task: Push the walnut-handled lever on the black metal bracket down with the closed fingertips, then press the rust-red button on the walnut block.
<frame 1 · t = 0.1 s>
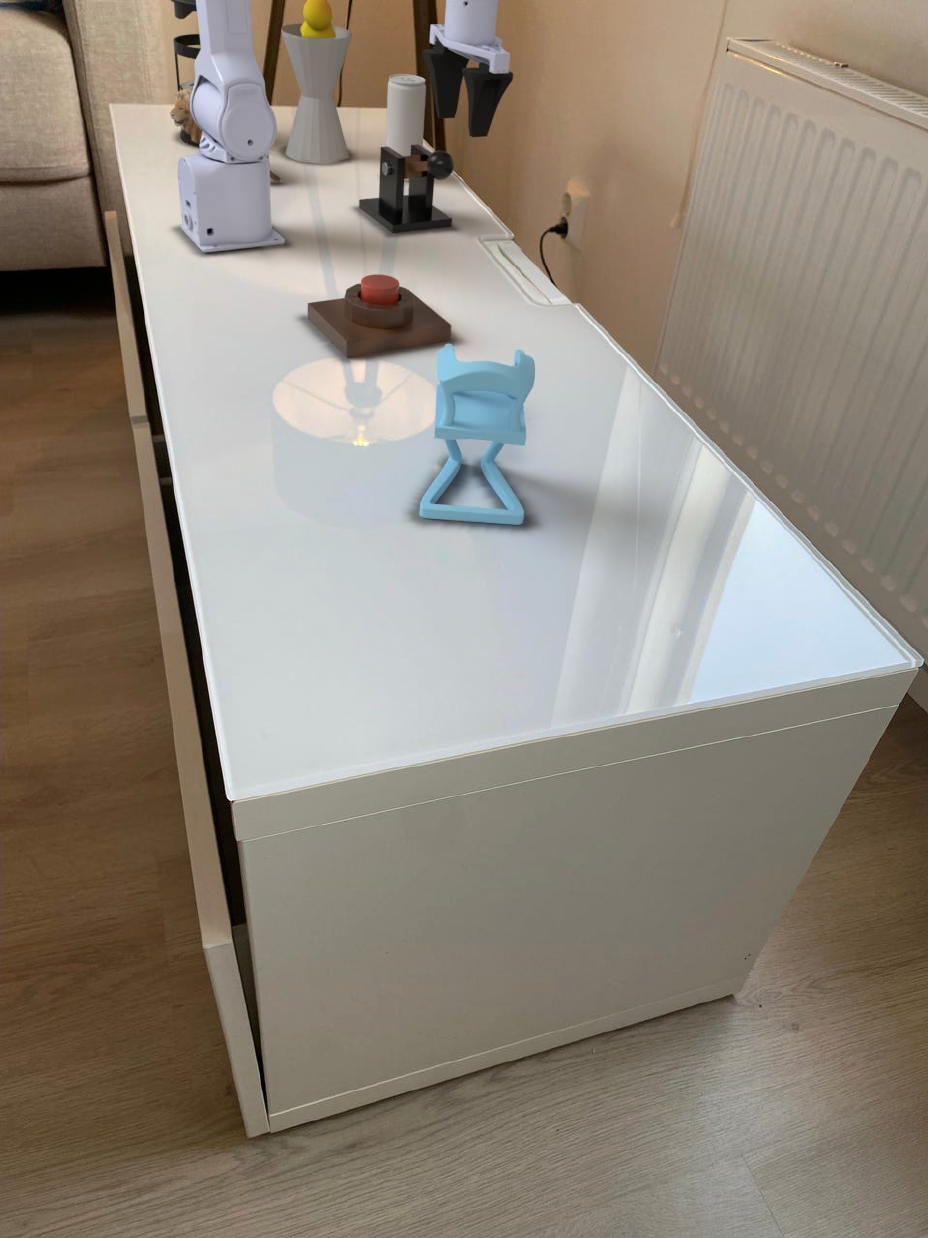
hand: (461, 126, 118), 10 cm above the table, tool pointing down, fingers open, 7 cm apart
grey hourglass vase: (317, 155, 138), on the table
beverage can: (402, 179, 134), on the table
bracket: (404, 218, 122), on the table
french press: (215, 139, 140), on the table
lion figurine: (225, 175, 129), on the table
button: (379, 290, 95), point 4 cm above the table, slide at 0.1 cm
lever: (423, 165, 115), point 7 cm above the table, hinge at 18.0°
chair: (470, 493, 77), on the table
button block: (378, 330, 98), on the table
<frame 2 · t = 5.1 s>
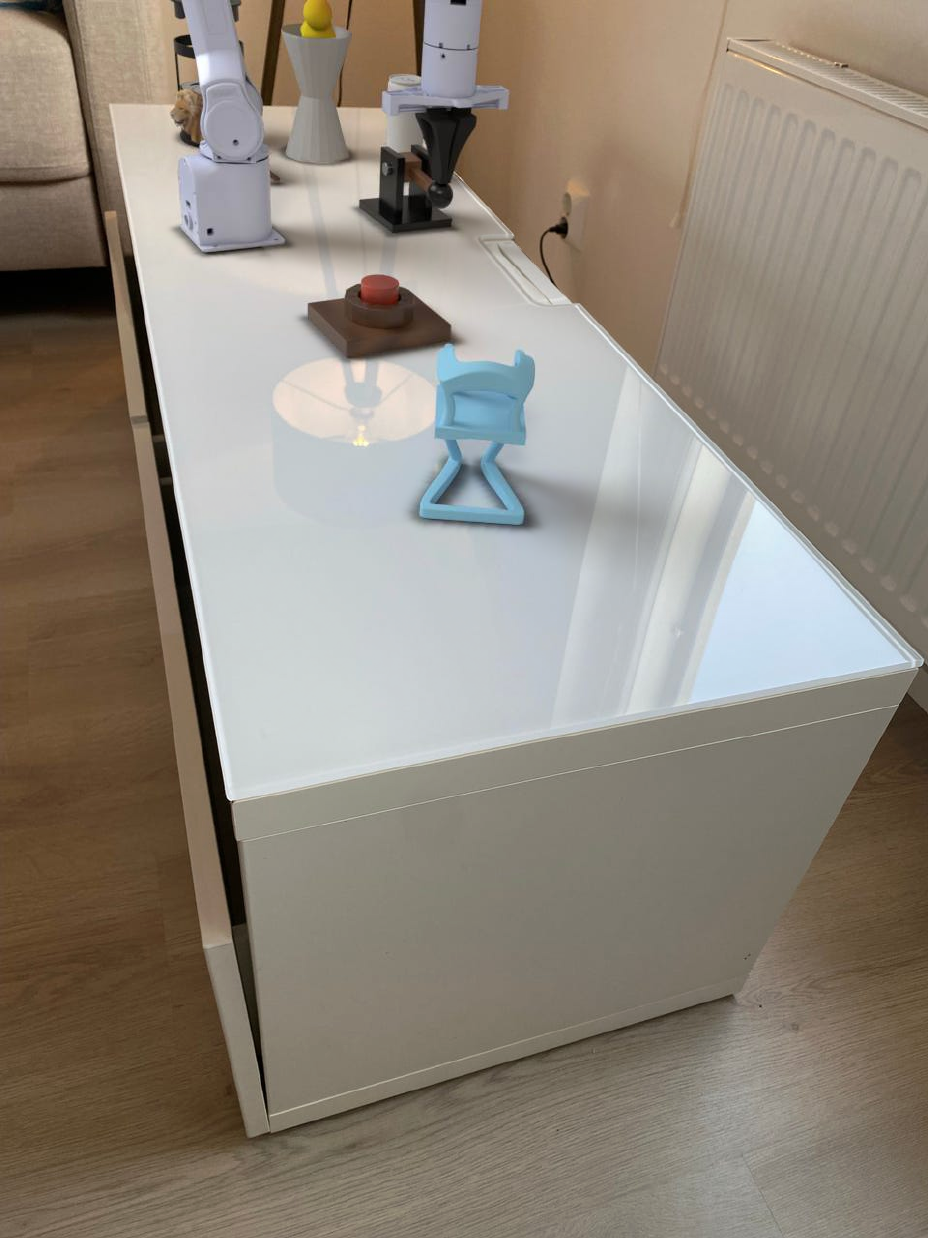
hand: (441, 180, 112), 7 cm above the table, tool pointing down, fingers closed, pressing on lever
lever: (423, 180, 116), point 6 cm above the table, hinge at -4.3°, touching gripper
everything else where it was.
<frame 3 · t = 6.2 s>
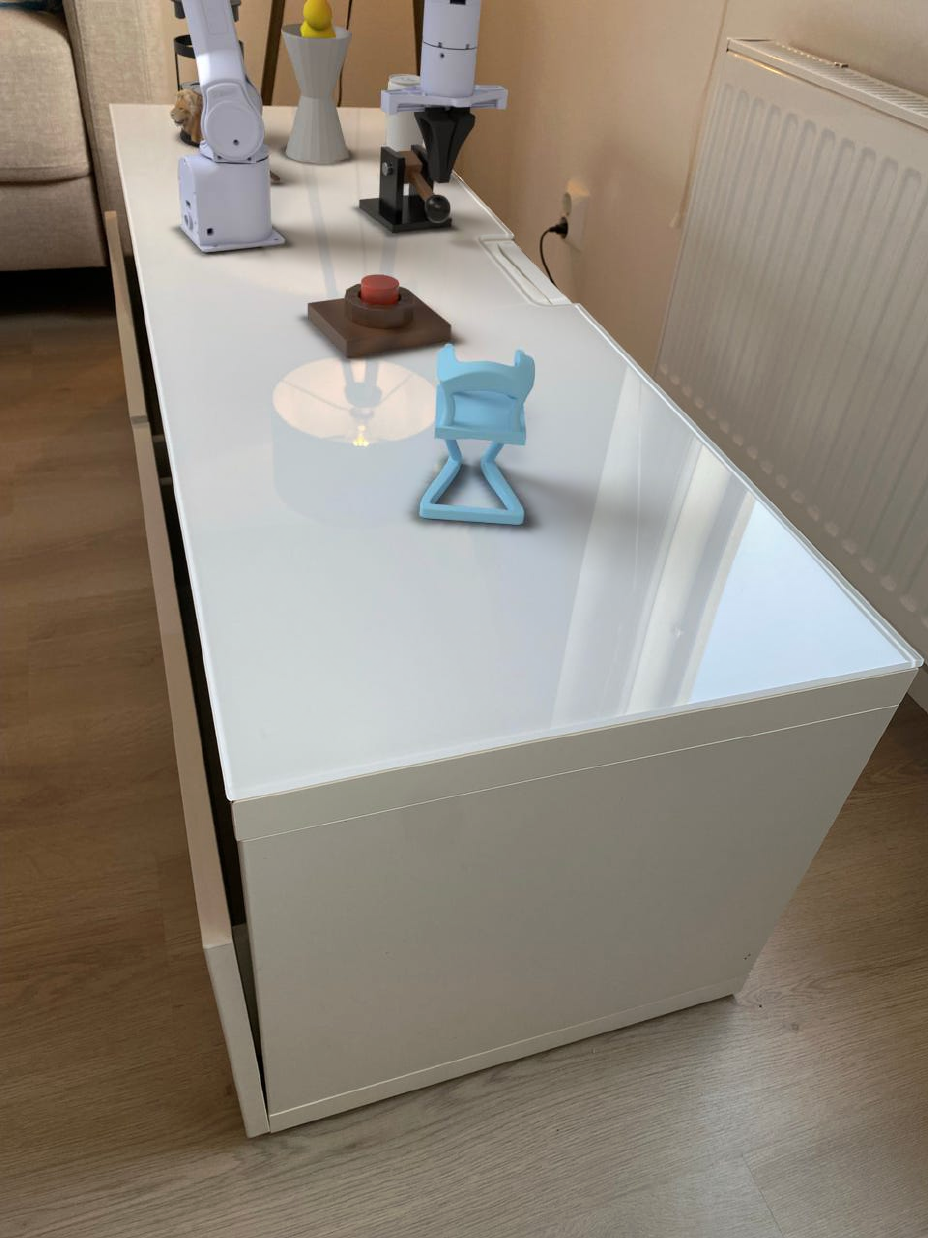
hand: (439, 180, 113), 7 cm above the table, tool pointing down, fingers closed
lever: (422, 187, 116), point 5 cm above the table, hinge at -16.3°
everything else where it was.
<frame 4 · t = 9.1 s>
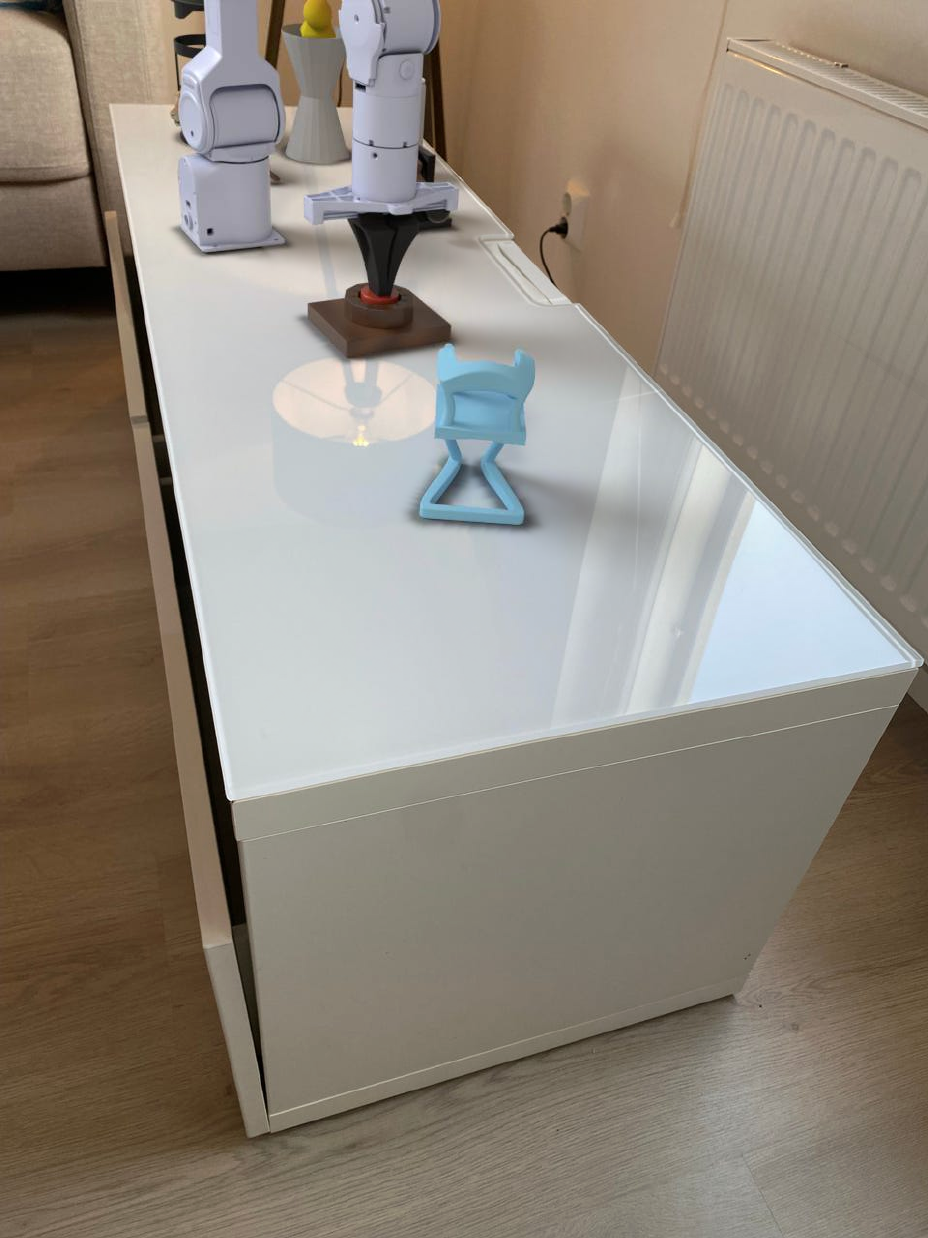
hand: (380, 292, 95), 4 cm above the table, tool pointing down, fingers closed, pressing on button
button: (379, 300, 96), point 3 cm above the table, slide at -0.9 cm, touching gripper
everything else where it was.
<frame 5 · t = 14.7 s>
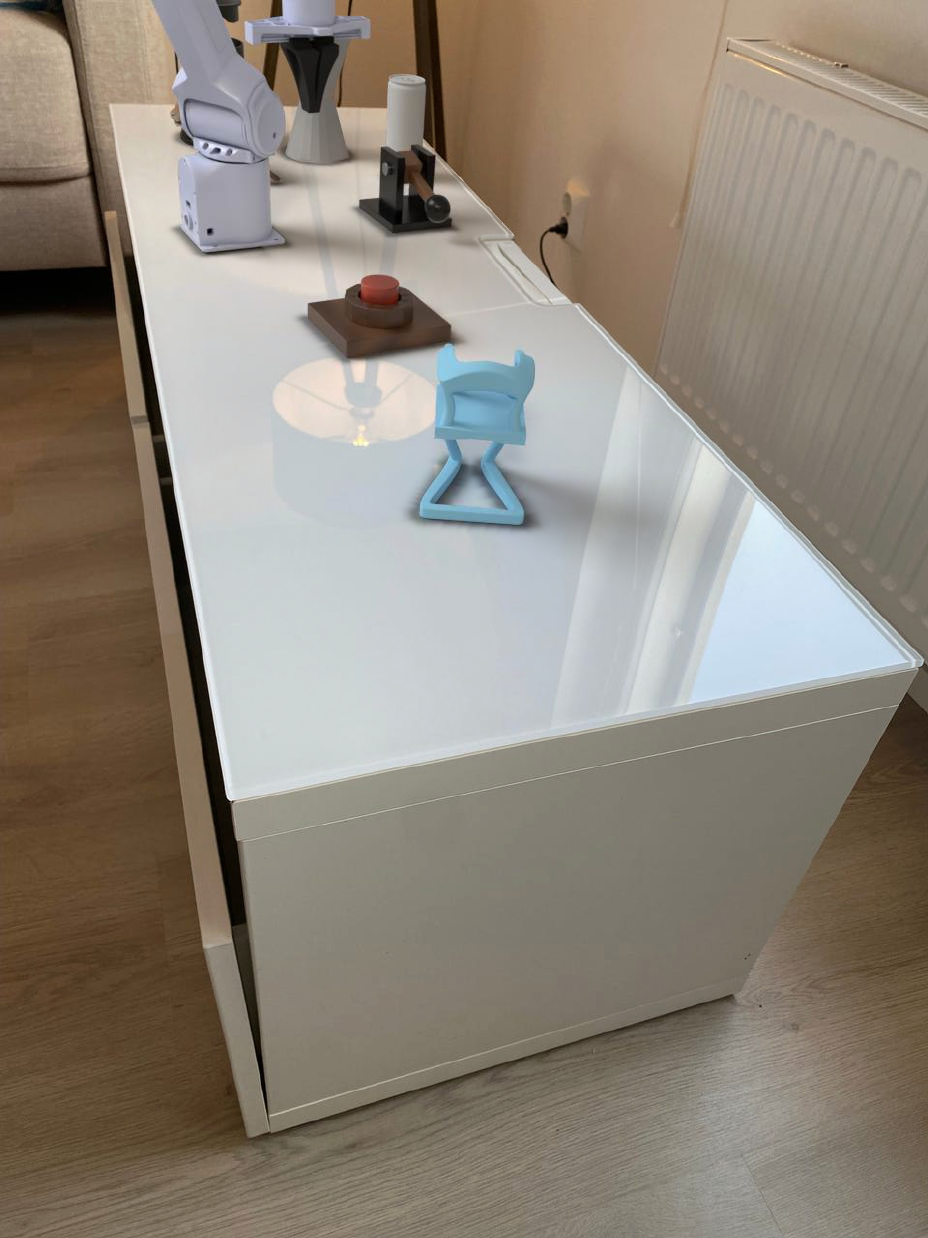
hand: (310, 110, 117), 10 cm above the table, tool pointing down, fingers closed
button: (379, 290, 95), point 4 cm above the table, slide at 0.1 cm
everything else where it was.
at the end: lever at -16° (first picture: +18°); button pushed in 1.2 cm at the most during the clip, back to where it started at the end; button slide at 0.1 cm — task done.
